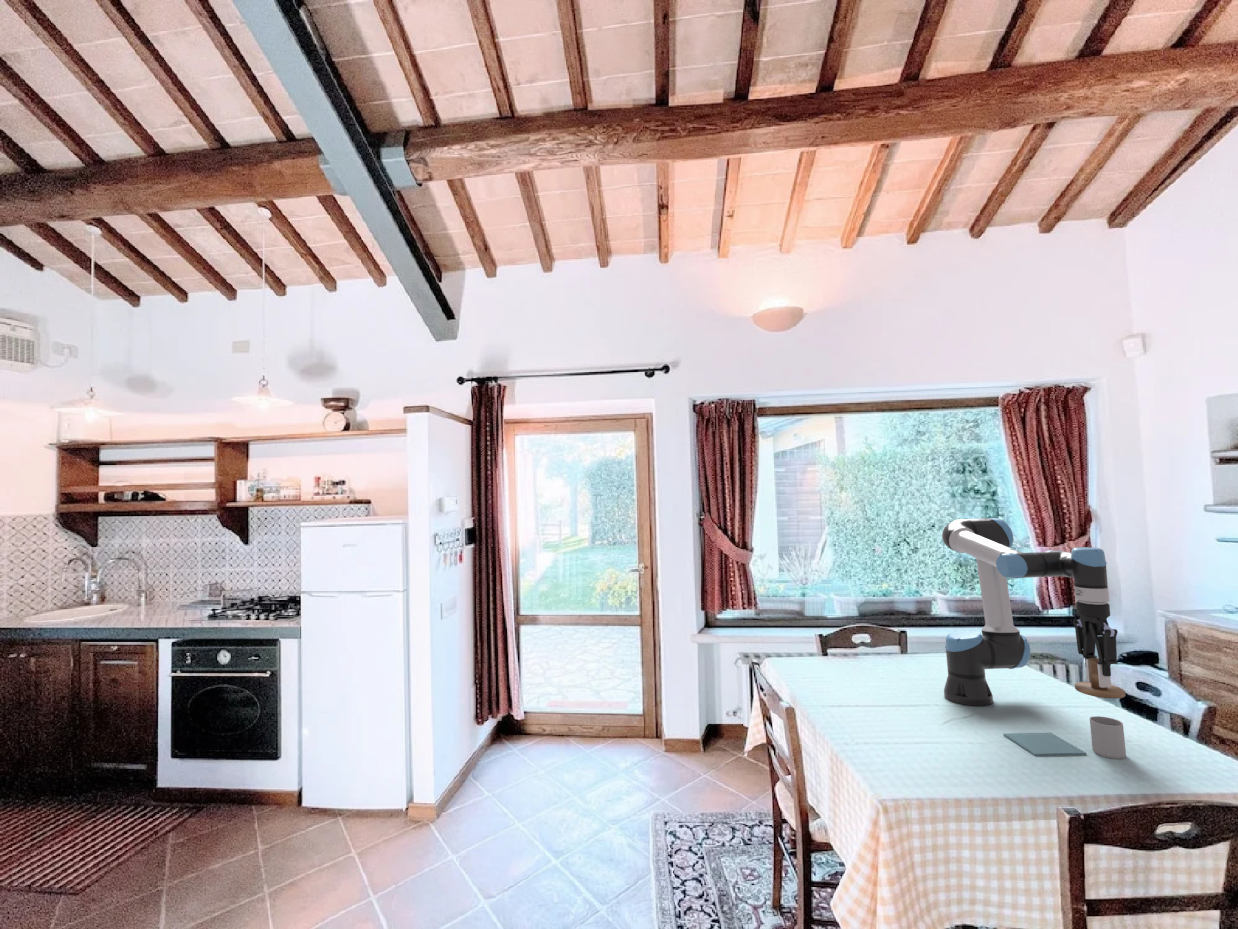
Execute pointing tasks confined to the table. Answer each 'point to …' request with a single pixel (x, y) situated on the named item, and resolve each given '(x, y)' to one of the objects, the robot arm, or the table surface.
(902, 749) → the table surface
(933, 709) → the table surface
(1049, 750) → the mat
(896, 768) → the table surface
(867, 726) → the table surface
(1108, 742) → the cup
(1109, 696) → the lid
